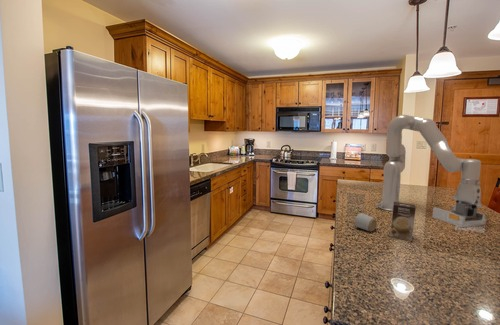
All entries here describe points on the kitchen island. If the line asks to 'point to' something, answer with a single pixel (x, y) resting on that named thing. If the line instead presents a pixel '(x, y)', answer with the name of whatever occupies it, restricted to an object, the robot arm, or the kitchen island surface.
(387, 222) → the kitchen island surface
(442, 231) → the kitchen island surface
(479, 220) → the rack
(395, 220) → the coffee box
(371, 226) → the grey short cylinder
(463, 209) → the panel
